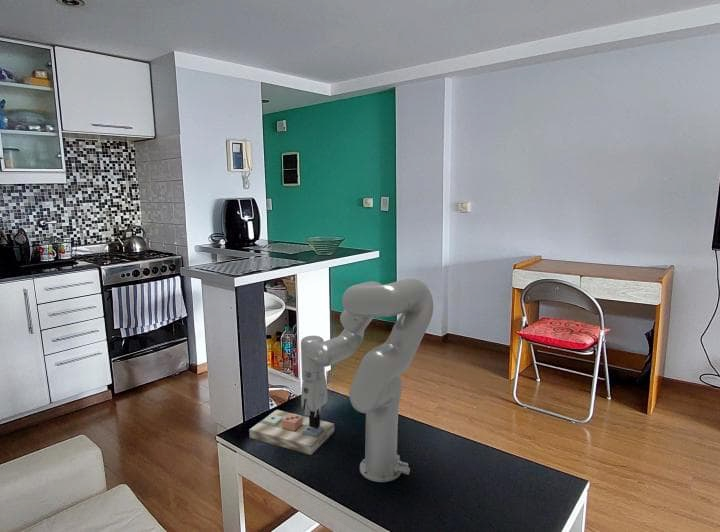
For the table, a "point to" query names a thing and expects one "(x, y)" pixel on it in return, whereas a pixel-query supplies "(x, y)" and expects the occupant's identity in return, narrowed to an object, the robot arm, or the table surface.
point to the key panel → (291, 434)
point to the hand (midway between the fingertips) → (314, 426)
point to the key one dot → (273, 420)
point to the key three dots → (292, 422)
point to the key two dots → (312, 431)
